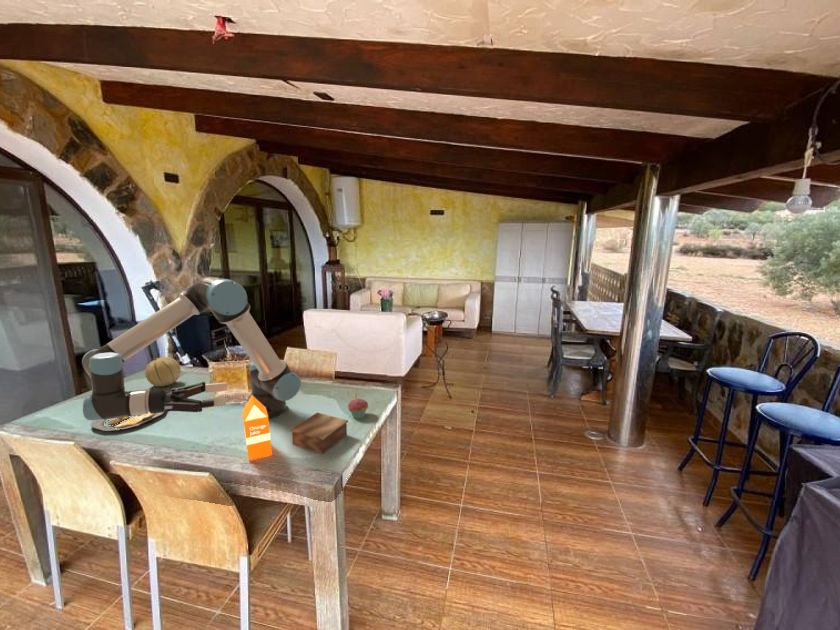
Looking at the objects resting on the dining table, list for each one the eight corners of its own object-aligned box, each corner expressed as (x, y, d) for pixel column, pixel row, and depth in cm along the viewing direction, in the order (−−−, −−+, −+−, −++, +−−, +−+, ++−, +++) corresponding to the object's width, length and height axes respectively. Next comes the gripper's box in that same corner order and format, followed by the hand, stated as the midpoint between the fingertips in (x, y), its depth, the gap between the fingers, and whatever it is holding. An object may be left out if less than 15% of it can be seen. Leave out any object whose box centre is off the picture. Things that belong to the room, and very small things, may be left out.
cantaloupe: (186, 385, 194) (182, 356, 191) (152, 393, 183) (148, 363, 180) (176, 377, 204) (172, 350, 201) (143, 385, 193) (139, 357, 190)
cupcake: (364, 421, 158) (363, 394, 156) (344, 419, 160) (343, 392, 158) (370, 412, 167) (370, 386, 164) (352, 410, 168) (351, 384, 166)
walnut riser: (290, 444, 141) (289, 429, 139) (317, 426, 154) (317, 412, 153) (323, 454, 134) (322, 439, 133) (348, 434, 148) (348, 420, 146)
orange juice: (269, 442, 141) (264, 392, 137) (272, 455, 134) (266, 402, 129) (246, 448, 138) (240, 396, 133) (248, 461, 130) (241, 407, 126)
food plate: (142, 401, 175) (140, 394, 174) (179, 410, 167) (178, 402, 166) (78, 428, 152) (77, 420, 151) (119, 440, 144) (117, 431, 143)
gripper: (157, 398, 130) (227, 390, 139) (141, 430, 108) (225, 419, 117) (156, 377, 129) (226, 371, 138) (139, 405, 107) (224, 396, 116)
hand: (226, 393), depth 128 cm, fingers open, 13 cm apart
